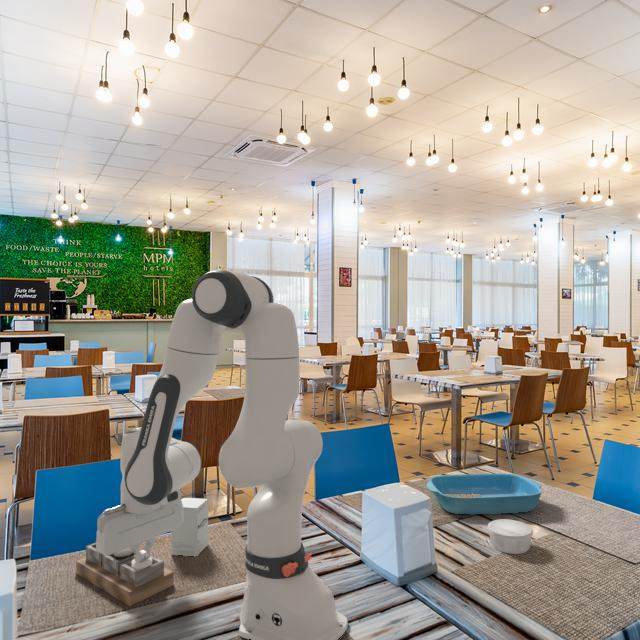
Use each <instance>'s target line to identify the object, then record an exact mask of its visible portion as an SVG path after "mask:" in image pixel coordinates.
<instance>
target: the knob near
mask: <svg viewBox="0 0 640 640" xmlns="http://www.w3.org/2000/svg"><path fill="white" fill-rule="evenodd" d="M151 565H152V558H151V557H150V558H149V559H146V560H144V561H142V562H139V563H137V562H135V559H133V560H132V568H134V569H135V570H137V571H139V570H141V569H144V568H146V567H148V566H151Z"/></svg>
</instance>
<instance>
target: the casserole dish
mask: <svg viewBox="0 0 640 640" xmlns="http://www.w3.org/2000/svg"><path fill="white" fill-rule="evenodd" d="M426 488H427V489H428V490H429V491H430V492H431V493H433V496H434V498H435V500H436V501H437V502H438V504H439V505H440V506H441V507H442V508H443V509H444V511H446V512H448V513H450V512H451V513H450V514H452V513H455V514H454V515H458V514H489V515H502V514H501V513H513V514H519V513H518V512H525V513H529V512H531V511H533V510H534V509H535V508H536V507H537V506H538V503H539V501H540V497H541V494H542V484H541V483H540V482H538V481H536V480H534V479H532V478H528V477H524V476H522V475H519V474H514V473H513V474H512V473H471V474H470V473H469V474H467V473H466V474H465V473H464V474H445V475H444V474H442V475H435V476H431V478H429V481H428V482H427V483H426ZM472 493H473V494H480V496H481V497H473V498H463V497H451V496H447V495H444V494H459V495H460V494H466V495H467V494H470V495H471V494H472ZM528 511H529V512H528Z"/></svg>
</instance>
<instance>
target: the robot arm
mask: <svg viewBox="0 0 640 640" xmlns="http://www.w3.org/2000/svg"><path fill="white" fill-rule="evenodd" d="M227 328H229V329H236V328H238V329H239V330H240V331H241V332H242V334H243V337H244V346H245V347H244V351H245V352H244V354H245V357H244V358H245V365H244V367H245V369H244V370H245V372H244V373H245V375H244V377H245V379H244V381H245V382H244V397H243V403H242V407H241V411H240V414H239V417H238V420H237V421H236V425H235V427H234V429H233V431H232V432H231V434H230V435H229V437H228V438H227V439H226V440H225V441H224V443H223V444H222V445H221V447H220V450H219V453H218V468H219V471H220V474H221V475H222V477H223V479H224V481H226V483H228V485H230V486H231V487H232V488H233V487H234V488H235V489H250V488H258V487H259V489H258V491H257V492H256V494H255V496H254V497H253V499H252V500H251V502H249V503H250V504H249V506H248V508H247V513H246V521H247V522H246V525H247V526H246V531H247V535H246V536H247V539H246V542H247V544H246V546H245V551H244V552H245V554H244V566H245V568H246V575H245V576H246V577H245V582H244V583H245V584H244V592H243V599H242V600H243V601H242V605H241V608H240V609H241V610H240V612H239V621H240V625H239V628H238V636H240V637H241V638H244V639H247V640H249V639H251V640H337V639H338V638H339V637H340V636H342V635H343V633H344V632H345V631H347V630H348V626H349V623H348V622H349V621H348V618H347V617H346V616H345V615H344V614H342V613H340V612H339V611H337V609H336V601H335V597H334V594H333V593H332V591H331V589H330V588H328V586H327V584H326V582H325V580H323V579H321V578H320V577H319V576H318V575H317V574H316V572H315V571H314V570H313V568H312V567H310V565H309V561H310V560H311V559H313V556H312V555H313V553H312V552H310V553H308V554H307V553H306V550H305V546H304V544H303V542H302V519H303V518H302V513H303V512H302V511H303V503H304V498H305V494H306V489H307V485H308V483H309V479H310V475H311V473H312V470H313V468H314V467H315V464H316V462H317V461H318V459H319V458H320V456H321V454H322V452H323V446H324V444H323V443H324V442H323V437H322V434H321V431H320V430H319V428H318V427H317V426H316V425H315V424H314V423H313V422H311V421H308V420H303V419H287V418H288V414H289V411H290V409H291V408H292V406H293V405H294V404H295V403H296V401H297V399H298V398H299V395H300V390H301V388H300V386H301V385H300V383H301V382H300V380H301V379H300V347H299V345H300V344H299V336H298V335H299V334H298V328H297V324H296V319H295V316H294V312H293V311H292V309H290V308H289V307H288V306H285V305H284V304H281V303H278V302H274V293H273V291H272V290H271V287H270V286H269V284H267V283H266V282H265V281H264V280H263V279H261V278H259V277H257V276H254V275H253V276H252V275H248V274H246V273H244V272H241V271H234V270H225V269H215V270H212V271H211V270H210V271H208V272H206V273H204V274H203V275H201V276H199V278H198V279H197V280H196V281H195V283H194V285H193V288H192V291H191V298H189V299H186V300H185V299H184V300H183V301H182V302H180V303H179V304H178V306H177V308H176V310H175V313H174V315H173V318H172V320H171V326H170V329H169V333H168V337H167V338H168V339H167V344H166V348H165V349H166V350H165V354H164V359H163V363H162V365H161V369H160V372H159V374H158V377H157V379H156V381H155V382H154V385H153V387H152V389H151V392H150V395H149V397H148V401H147V405H146V408H145V413H144V417H143V420H142V423H141V424H142V425H141V426H140V427H136V428H132V429H130V430H128V431H126V433H124V435H123V436H122V440H121V445H120V460H119V461H120V466H119V467H120V472H121V475H122V479H121V482H120V505H116V506H114V507H112V508H106V509H105V510H103V512H102V513H101V514H100V515H99V516H98V517H97V522H96V524H97V525H96V526H97V527H96V528H97V531H96V540H95V543H96V550H97V551H98V552H99V553H101V554H103V555H105V556H109V555H111V554H114V553H116V552H119V551H121V550H124V549H126V548H129V547H130V549H131V550H132V551H133V553H134V559H135V562H137V563H139V562H142V561H144V560H146V559H149V558H150V555H151V551H152V549H153V546H154V544H155V543H156V538H157V537H159V536H163V535H164V534H168V533H169V532H170V533H171V531H172V530H175V529H177V528H180V527H181V525H182V524H183V521H184V513H183V504H182V501H181V499H182V490H180V489H181V488H183V487H184V486H186V485H188V484H190V483H191V482H193V480H195V479H197V477H198V476H199V475H200V472H201V469H202V458H201V454H200V452H199V450H198V449H197V447H196V446H195V445H193V444H192V443H190V442H189V441H183V440H180V439H176V438H174V437H173V433H174V429H175V425H176V421H177V418H178V416H179V413H180V412H181V410H182V409H183V407H184V406H185V405H186V404H187V403H188V402H189V401H190V400H191V399H192V398H193V397H194V396H195V395H197V394H198V393H199V392H200V391H202V390H203V389H205V388H206V387H207V386H208V385H209V384H210V383H211V381H212V379H213V377H214V375H215V372H216V369H217V365H218V359H219V358H218V357H219V352H220V345H221V339H222V335H223V333H224V331H225V330H226V329H227ZM144 542H145V543H144ZM141 543H144V546H143V549H142V550H141V551H139V550H140V549H139V548H141ZM345 633H346V632H345ZM345 633H344V634H345ZM343 636H344V635H343ZM343 636H342V637H343Z"/></svg>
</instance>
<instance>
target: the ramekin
mask: <svg viewBox="0 0 640 640" xmlns="http://www.w3.org/2000/svg"><path fill="white" fill-rule="evenodd" d="M487 530H488V534H489V539H490V544H491V545H492V547H493V548H494V549H495V550H497V551H498V552H502V553H505V554H508V555H511V554H512V555H522V554H525V553H527V552H528V551H529V550H530V548H531V543H532V537H533V534H534V530H533V528H532V527H531V526H530V525H528V524H527V523H524V522H522V521H519V520H514V519H507V518H504V519H502V518H501V519H500V518H499V519H495V520H491V521H490V522H488V523H487Z"/></svg>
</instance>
